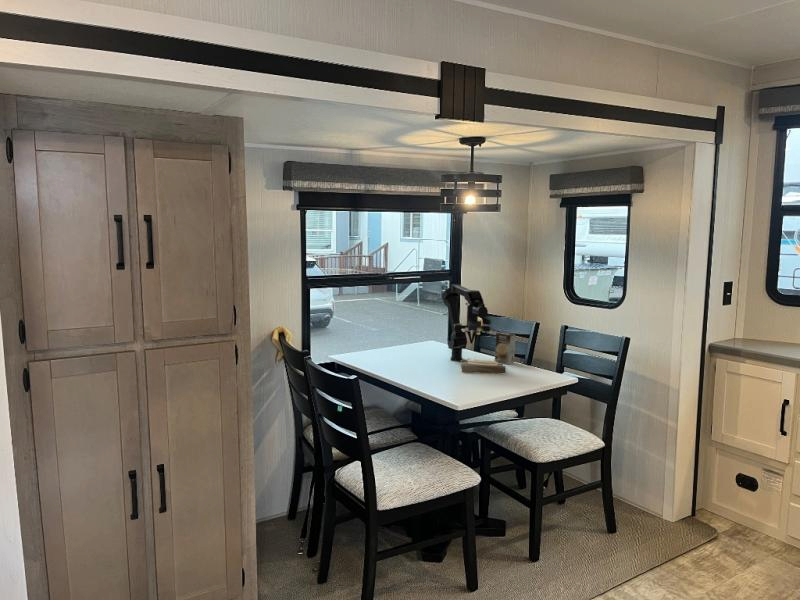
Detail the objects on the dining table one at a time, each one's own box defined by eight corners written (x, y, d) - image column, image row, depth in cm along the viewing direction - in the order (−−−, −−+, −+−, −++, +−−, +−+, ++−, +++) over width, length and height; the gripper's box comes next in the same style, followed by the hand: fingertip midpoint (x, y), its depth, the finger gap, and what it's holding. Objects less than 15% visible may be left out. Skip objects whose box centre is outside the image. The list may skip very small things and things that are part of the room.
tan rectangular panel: (467, 362, 316) (467, 359, 316) (495, 363, 315) (496, 361, 315) (468, 367, 306) (468, 364, 306) (497, 368, 305) (497, 365, 305)
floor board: (460, 364, 318) (461, 358, 317) (502, 366, 316) (502, 360, 316) (461, 371, 303) (461, 365, 302) (505, 373, 301) (505, 367, 301)
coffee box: (493, 361, 326) (495, 333, 324) (499, 359, 331) (501, 331, 329) (508, 364, 321) (510, 335, 318) (514, 362, 325) (516, 333, 323)
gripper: (454, 316, 305) (453, 345, 307) (491, 317, 304) (490, 347, 306) (454, 312, 316) (453, 341, 318) (489, 314, 315) (488, 342, 317)
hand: (471, 343), depth 315 cm, fingers closed
